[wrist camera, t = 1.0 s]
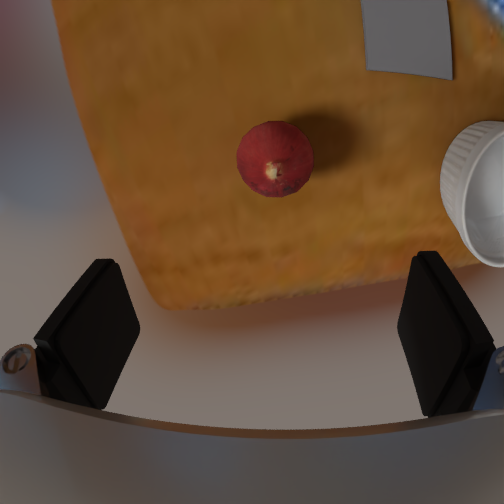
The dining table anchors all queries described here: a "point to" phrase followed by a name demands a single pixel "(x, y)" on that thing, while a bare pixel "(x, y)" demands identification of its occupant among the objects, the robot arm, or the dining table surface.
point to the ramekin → (477, 189)
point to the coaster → (408, 37)
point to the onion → (275, 159)
